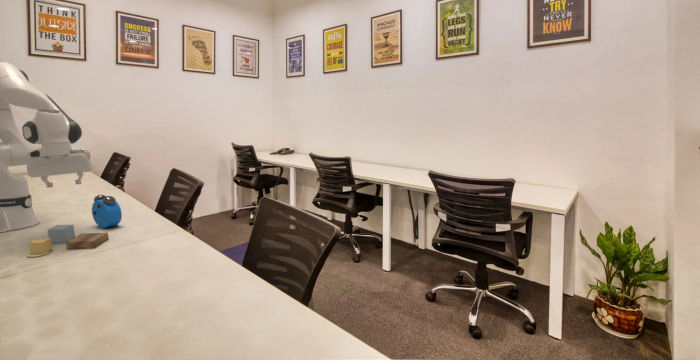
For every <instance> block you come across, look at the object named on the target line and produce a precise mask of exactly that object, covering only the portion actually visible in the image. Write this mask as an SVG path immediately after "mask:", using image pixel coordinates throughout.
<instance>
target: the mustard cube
mask: <svg viewBox="0 0 700 360" xmlns="http://www.w3.org/2000/svg"><path fill="white" fill-rule="evenodd" d="M28 247H29V248H28V249H29V252H30V253H29V254H30V255H44V253H45V254H46V252H47V253H48V252H50V251H52V250H53V245H52V244H51V238H49V237H48V238H37V239H34V240H32V241H30V242H28Z"/></svg>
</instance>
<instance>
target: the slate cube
mask: <svg viewBox="0 0 700 360" xmlns="http://www.w3.org/2000/svg"><path fill="white" fill-rule="evenodd" d="M74 226H75V225H74V224H57V225H54V226H53V227H50V228H48V229H47V230H46V231H47V235H48V236H47V238H48V239H49V238H51V244H66V242H67V241H69V240H71V239H72V238H74V237H76V233H75V227H74Z"/></svg>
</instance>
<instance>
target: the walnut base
mask: <svg viewBox="0 0 700 360" xmlns="http://www.w3.org/2000/svg"><path fill="white" fill-rule="evenodd" d="M108 240H109V233H108V232H90V233H89V232H88V233H85V232H84V233H80V234H78V235H75V237H74V238H72V239H71V240H69V241H67V242H66V243H65V248H66V251H69V250H84V249H85V250H86V249H87V250H88V249H96V248H98V247H99V246H101V245H102V244H104V243H106V242H107V241H108Z"/></svg>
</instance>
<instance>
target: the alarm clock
mask: <svg viewBox="0 0 700 360" xmlns="http://www.w3.org/2000/svg"><path fill="white" fill-rule="evenodd" d="M91 215H92V217H93V220H94V222H95V224H96V225H97V226H98V227H99V228H101V229H106V228H109V227H113V226H117V228H118V227H119V224H120V223H121V222H122V219H123V218H122V216H123V214H122V209H121V206H120V204H119V203H118V201H117V200H116V198H115V197H114V196H112V195H107V196H106V195H104V194H97V195H96V196H95V197H94V198H93V203H92V205H91Z"/></svg>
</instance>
